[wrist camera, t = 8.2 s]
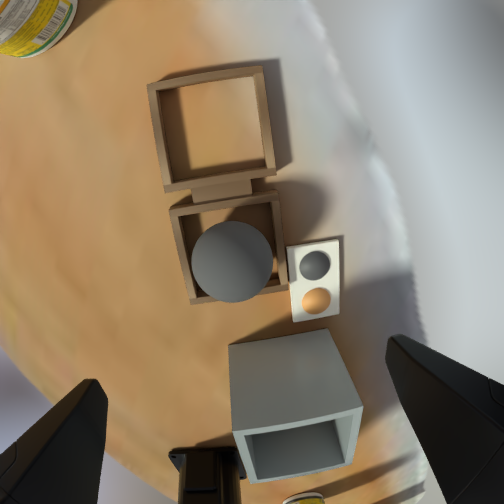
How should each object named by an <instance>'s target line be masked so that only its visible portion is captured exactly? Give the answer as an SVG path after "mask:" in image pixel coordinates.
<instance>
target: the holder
mask: <svg viewBox="0 0 504 504" xmlns="http://www.w3.org/2000/svg"><path fill="white" fill-rule="evenodd" d="M249 76H253V77H254V84H255V91H256V98H257V105H258V112H259V120H260V127H261V135H262V142H263V150H264V158H265V165H266V166H265V167H258V168H251V169H244V170H237V171H230V172H224V173H218V174H212V175H206V176H200V177H194V178H188V179H183V180H178V181H173V175H172V170H171V164H170V159H169V153H168V147H167V141H166V136H165V129H164V123H163V117H162V110H161V104H160V97H159V92H160V91H165V90H169V89H174V88H179V87H184V86H189V85H195V84H200V83H206V82H212V81H219V80H226V79H233V78H241V77H249ZM147 91H148V98H149V105H150V112H151V118H152V124H153V131H154V137H155V142H156V148H157V154H158V159H159V165H160V170H161V175H162V181H163V186H164V191H165V193H169V192H174V191H180V190H185V189H191V192H192V198H193V203H187V204H181V205H176V206H171V207H170V209H169V215H170V219H171V224H172V229H173V233H174V238H175V242H176V246H177V251H178V255H179V259H180V263H181V267H182V271H183V276H184V280H185V284H186V288H187V291H188V295H189V299H190V303H191V305H194V304H201V303H208V302H215V301H220V300H217V299H215V298H213V297H211V296H210V295H208V294H207V293H206V292H204V291H203V290H201V291H197V288H196V284H195V280H194V275H193V271H192V267H191V262H190V258H189V253H188V249H187V244H186V240H185V235H184V230H183V226H182V221H181V216H183V215H189V214H195V213H201V212H207V211H213V210H219V209H226V208H232V207H238V206H245V205H252V204H258V203H265V202H270V206H271V214H272V223H273V231H274V240H275V249H276V258H277V267H278V276H279V279H273V280H268V282H267V284H266V285H265V287H264V288H263V289H262V290H261V291H260V292H259V293H258V294H257V295H261V294H268V293H274V292H280V291H286V290H289V289H288V278H287V268H286V257H285V247H284V238H283V228H282V219H281V209H280V200H279V193H278V191H277V190H270V191H263V192H256V193H252V187H251V180H250V179H253V178H261V177H268V176H275V175H277V174H276V166H275V158H274V150H273V142H272V134H271V126H270V118H269V111H268V104H267V96H266V89H265V82H264V75H263V68H262V65H259V66H249V67H241V68H233V69H225V70H218V71H212V72H206V73H200V74H194V75H189V76H183V77H178V78H173V79H169V80H164V81H160V82H155V83H151V84H147Z"/></svg>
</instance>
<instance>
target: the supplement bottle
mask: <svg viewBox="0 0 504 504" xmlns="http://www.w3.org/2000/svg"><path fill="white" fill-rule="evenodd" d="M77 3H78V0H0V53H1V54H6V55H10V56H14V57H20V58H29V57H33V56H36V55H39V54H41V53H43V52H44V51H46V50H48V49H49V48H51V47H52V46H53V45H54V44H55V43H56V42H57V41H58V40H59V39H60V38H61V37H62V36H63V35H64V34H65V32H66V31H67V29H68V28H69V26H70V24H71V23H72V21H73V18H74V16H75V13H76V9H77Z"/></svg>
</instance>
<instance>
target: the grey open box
mask: <svg viewBox="0 0 504 504" xmlns="http://www.w3.org/2000/svg"><path fill="white" fill-rule="evenodd" d="M228 352H229V376H230V397H231V417H232V432H233V435H234V438H235V441H236V444H237V447H238V450H239V453H240V456H241V458H242V461H243V464H244V467H245V470H246V473H247V475H248V478H249V481H250V484H253V483H261V482H268V481H275V480H281V479H287V478H293V477H299V476H304V475H309V474H314V473H318V472H323V471H327V470H331V469H335V468H339V467H343V466H347V465H351V464H352V460H353V456H354V452H355V447H356V442H357V438H358V433H359V428H360V423H361V417H362V412H363V404H362V402H361V399H360V397H359V395H358V393H357V390H356V388H355V386H354V384H353V382H352V379H351V377H350V375H349V373H348V371H347V368H346V366H345V364H344V362H343V360H342V358H341V356H340V353H339V351H338V349H337V347H336V345H335V343H334V341H333V338H332V336H331V334H330V332H329V330H328V328H326V329H321V330H316V331H311V332H306V333H300V334H295V335H289V336H284V337H278V338H272V339H266V340H260V341H253V342H247V343H240V344H233V345H228Z"/></svg>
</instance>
